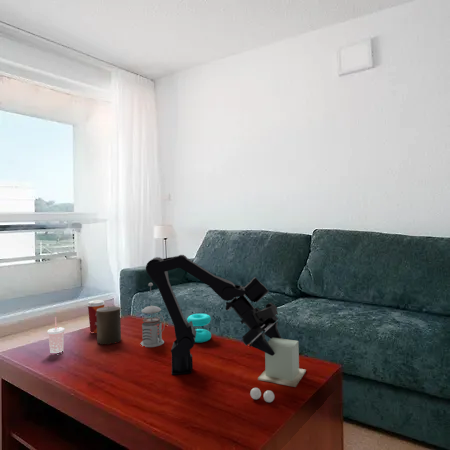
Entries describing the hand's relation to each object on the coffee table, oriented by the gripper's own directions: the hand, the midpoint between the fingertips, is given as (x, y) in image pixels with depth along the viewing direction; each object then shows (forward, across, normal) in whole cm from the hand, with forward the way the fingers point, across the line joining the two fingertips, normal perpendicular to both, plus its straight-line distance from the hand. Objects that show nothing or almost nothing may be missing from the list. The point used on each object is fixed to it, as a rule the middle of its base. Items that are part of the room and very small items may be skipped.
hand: (278, 349), depth 115 cm
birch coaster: (+6, 0, +5) cm, 8 cm away
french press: (-34, +7, +46) cm, 58 cm away
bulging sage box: (+6, 0, +4) cm, 8 cm away
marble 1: (+5, -17, +6) cm, 19 cm away
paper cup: (-58, +9, +70) cm, 92 cm away
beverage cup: (-54, -17, +66) cm, 87 cm away
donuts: (-23, +19, +36) cm, 47 cm away
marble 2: (+8, -17, +4) cm, 19 cm away
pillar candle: (-48, +2, +60) cm, 77 cm away
